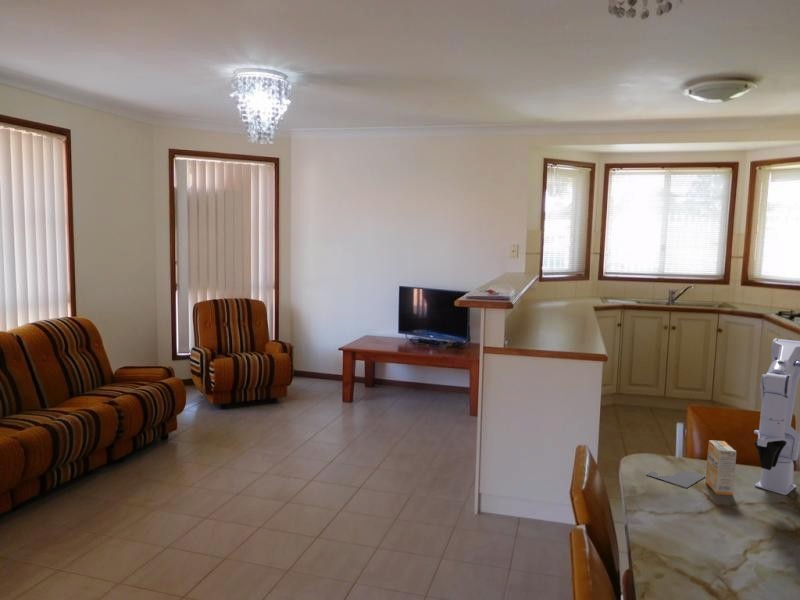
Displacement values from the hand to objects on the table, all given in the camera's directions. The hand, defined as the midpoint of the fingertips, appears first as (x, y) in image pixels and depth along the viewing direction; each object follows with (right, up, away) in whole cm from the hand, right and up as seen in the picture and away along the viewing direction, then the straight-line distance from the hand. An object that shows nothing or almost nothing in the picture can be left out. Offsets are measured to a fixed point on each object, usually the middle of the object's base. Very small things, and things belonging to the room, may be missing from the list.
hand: (768, 467), depth 159 cm
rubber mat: (-16, -8, +19) cm, 26 cm away
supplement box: (-8, -9, +10) cm, 16 cm away
